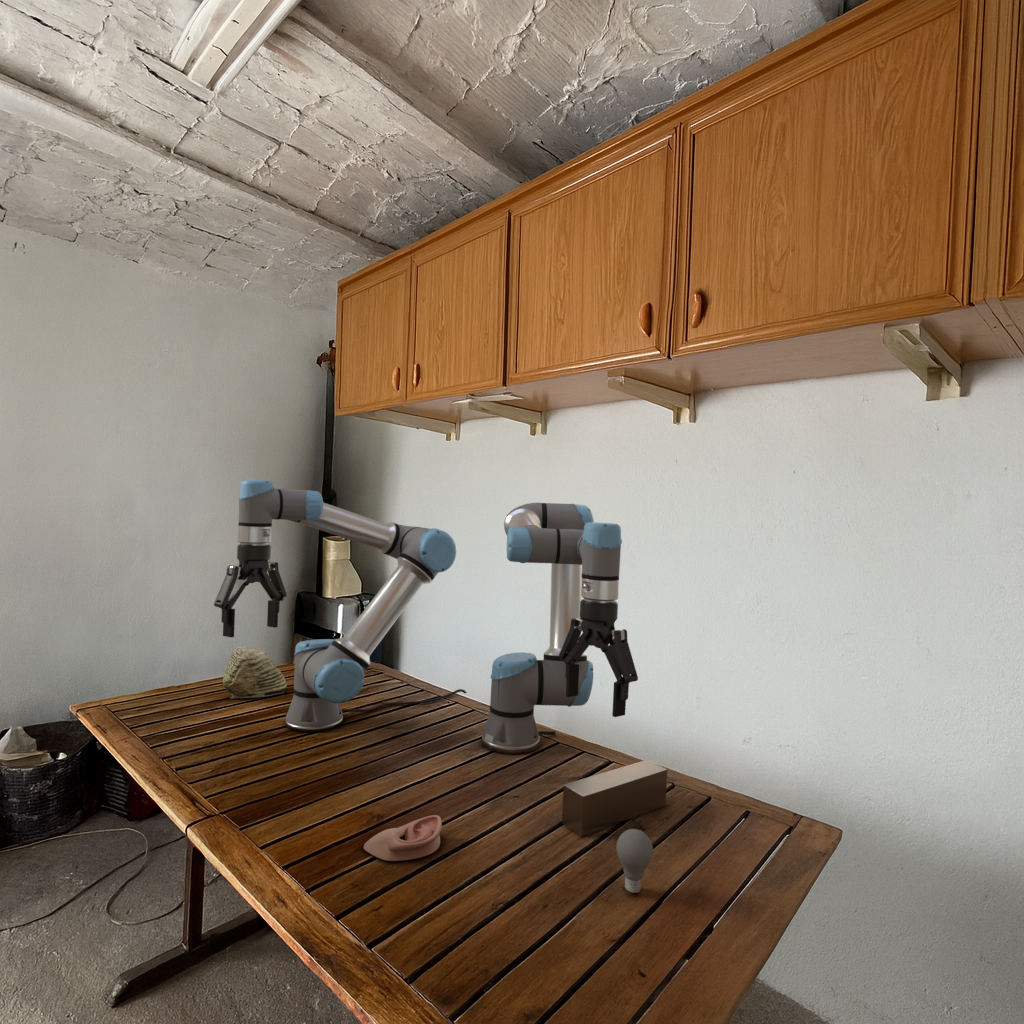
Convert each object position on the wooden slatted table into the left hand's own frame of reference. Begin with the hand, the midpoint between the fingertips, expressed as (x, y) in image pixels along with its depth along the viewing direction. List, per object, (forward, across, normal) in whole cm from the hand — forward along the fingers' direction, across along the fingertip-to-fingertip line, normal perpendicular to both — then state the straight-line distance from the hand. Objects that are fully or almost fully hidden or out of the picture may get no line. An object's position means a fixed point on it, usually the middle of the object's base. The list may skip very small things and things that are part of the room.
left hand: (251, 631), depth 153 cm
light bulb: (+30, -10, -97) cm, 102 cm away
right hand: (+6, +8, -84) cm, 84 cm away
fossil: (+30, +34, +33) cm, 56 cm away
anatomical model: (+30, -16, -56) cm, 65 cm away
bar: (+30, +15, -88) cm, 94 cm away
